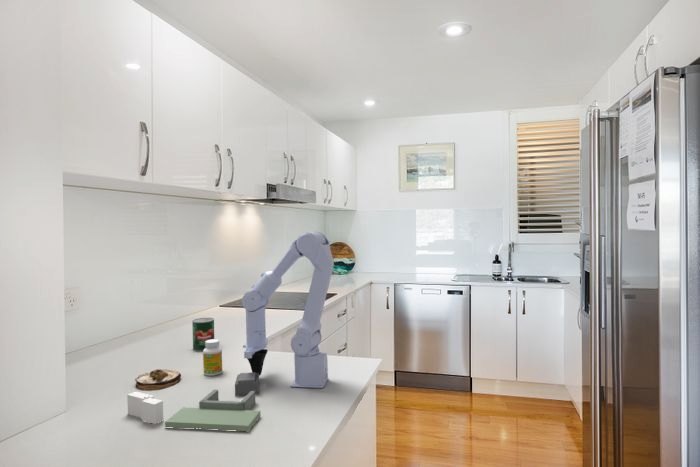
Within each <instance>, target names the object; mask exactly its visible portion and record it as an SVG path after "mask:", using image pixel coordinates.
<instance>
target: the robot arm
mask: <svg viewBox="0 0 700 467" xmlns="http://www.w3.org/2000/svg"><path fill="white" fill-rule="evenodd" d="M303 257H306V259H308V260H309V261H310V263H311V264H312V266H313V267H314V269H313V273H312V277H311V282H310V286H309V290H308V294H307V298H306V302H305V308H304V311H303V314H302V319H301V321H300V323H299V324H298V327H297V328H296V332H295V334H294V335H293V336H292V337H291V340H290V347H291V350H292V351H293V353H294V354H293V356H294V380H293V382H292V383H291V384H290V387H291V388H311V389H312V388H314V389H323V388H325V386H326V383H327V382H328V380H329V377H328V376H329V372H328V369H329V368H328V367H329V366H328V355H327V354H328V353H325V352H320V348H319V345H320V344H321V341H322V333H321V330H322V323H321V320H322V319H321V318H322V314H323V312H324V311H323V310H324V308H325V302H326V299H327V296H328V295H327V294H328V290H329V287H330V282H331V277H332V274H333V272H334V271H333V270H334V266H335V262H334V258H333V254H332V251H331V243H330V240H329V238H327V236H326V235H325V234H323V232H321V231H313V232H306V231H305V232H302V233H301V234H300V235H298V237H297V239H295V240H294V241H293V242H292V243H291V245H290V246H289V248H288V249H287V250H286V252H285V253H284V254H283V256H282V257H281V258H280V260H278V263H277V264H276V265H275V267H274V268H273V269H272V270H267V271H266V272H262V273H260V278H259V280H258V281H257V282H256V283H255V284H254V285H252V286H251V287H250V288H251V290H249V291H246V292H245V293H244V294H243V297H242V299H241V304H242V307H243V308H244V309H245V331H246V332H245V333H246V334H245V335H246V343H243V345H242V348H243V349H244V348H245V350H244V352H243V354H244V355H243V357H244V358H243V359H247V361H248V363H249V366H250V369H251V370H250V371H251V372H256V373H259V377H260V376H261V375H262V372H263V368H264V367H263V366H264V363H265V359H266V356H267V354H268V349H267V346H268V344H269V343H268V338H267V335H266V334H267V332H266V329H267V327H266V306H267V305H268V303H269V299H270V298H271V297H272V295H274V293H275V292H276V291H277V289H278V288H279V287H280V286H281V285H282V282H283V280H282V277H284V275H285V274H286V273H288V272H287V271H288V270H290V269H291V267H292V266H293V265H294V264H295V263H296V262H297V261H298V260H299V259H300V258H303Z"/></svg>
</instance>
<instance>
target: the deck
mask: <svg viewBox="0 0 700 467" xmlns="http://www.w3.org/2000/svg"><path fill="white" fill-rule="evenodd" d="M254 403H255V404H256V395H255V391H250V392H249V393H248V394H247V395H245V397H244V398H243V397H242V400H241V401H234V400H233V401H231V400H220V399H219V389H213V390H212V391H210V392H209V393H208V394H207V395H206V396H205V397H203V398H202V399H200V401H199V402H198V406H199V407H186V406H185V407H182V408H181V409H179V410H178V411H176V412H175V413H174V414H173V415H172V416H170V417H169V418H167V419H166V420H165V421H164V428H165V427H173V428H194V429H196V428H198V429H199V428H201V429H218V430H236V431H246V432H245V433H248V432H247V431H249V430H250V429H252V428H253V427H254V426H255V424H256V423H257V422H258V421H257V419H258V418H259V417H260V416H261V410H251V409H252V408H253V406H254V405H255V404H254ZM253 404H254V405H253ZM260 418H261V417H260ZM260 418H259V419H260ZM259 419H258V420H259ZM256 421H257V422H256ZM255 422H256V423H255ZM254 423H255V424H254ZM253 425H254V426H253ZM252 426H253V427H252ZM251 427H252V428H251ZM250 431H251V430H250ZM250 431H249V432H250Z"/></svg>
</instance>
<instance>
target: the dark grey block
mask: <svg viewBox="0 0 700 467" xmlns="http://www.w3.org/2000/svg"><path fill="white" fill-rule="evenodd" d="M259 389H260V376H259V373H256V372H252V371H250V372H242V373H241V372H240V373H239V374H237V377H236V380H235V383H234V396H235V397H243V396H246V395H247V394H248V393H249V392H250V391H255V396H256V395H259Z"/></svg>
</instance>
